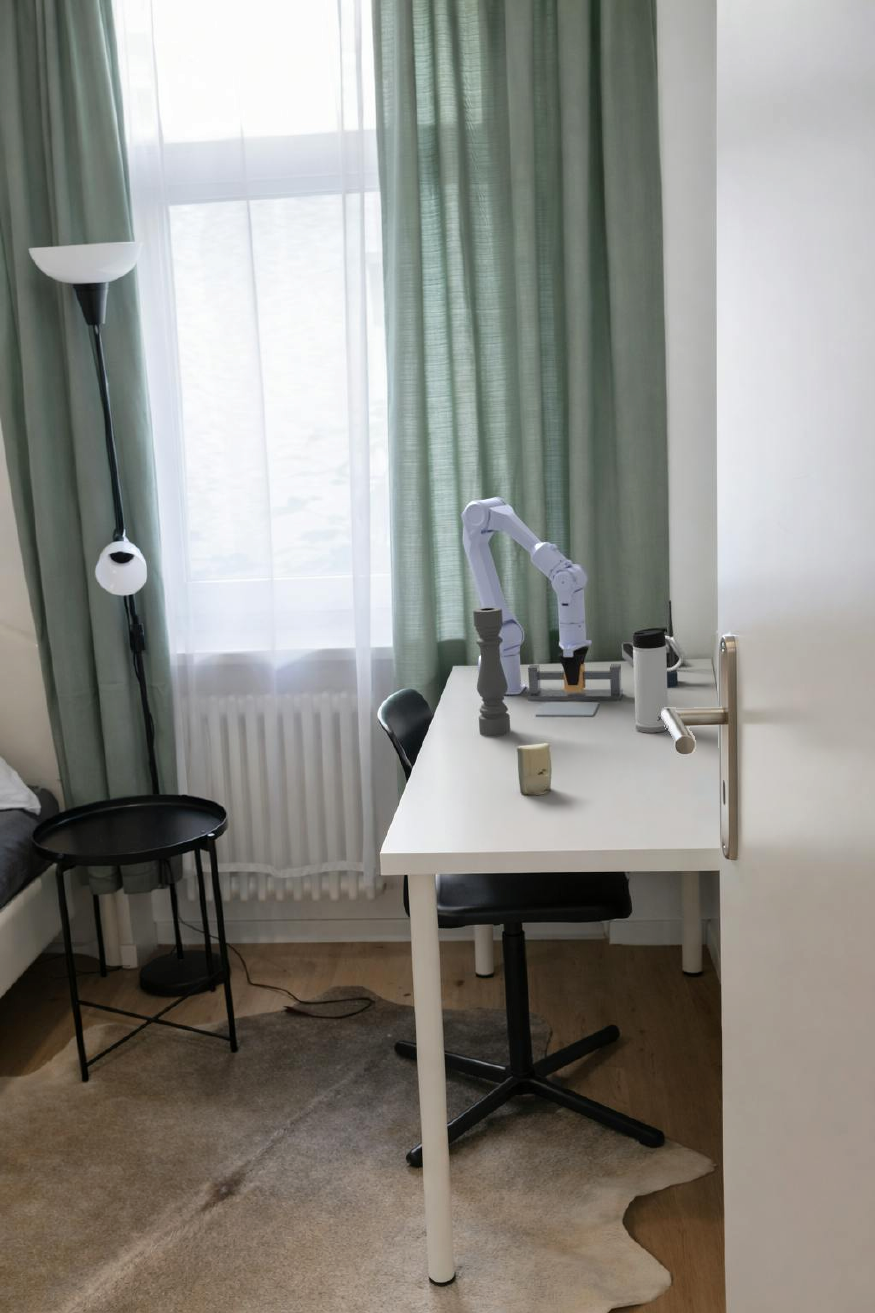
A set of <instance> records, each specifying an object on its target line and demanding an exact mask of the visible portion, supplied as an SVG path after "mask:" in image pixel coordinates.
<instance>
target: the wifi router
mask: <svg viewBox="0 0 875 1313" xmlns="http://www.w3.org/2000/svg"><path fill="white" fill-rule="evenodd" d="M672 613H673V612H672V600H670V599H669V600H668V636H669V637H671V638H672V637H674V628H673V618H672ZM633 642H634V641H626V642H621V656H622V658H623V659H624V660H625V661H626V662H627V663H628V664H629V665H630V666H631V667H632V668H633V669H634V661H633ZM679 659H680V658H679V657H678V656H677V654H676V653H675V651H674V650H673V648H672V646H671V645H670V643H669V642H666V662H667V668H671V667H673V666H675V665H676V664H677V663H678V661H679Z"/></svg>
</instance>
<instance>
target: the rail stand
mask: <svg viewBox="0 0 875 1313" xmlns="http://www.w3.org/2000/svg"><path fill="white" fill-rule="evenodd" d="M621 668H622V665H621V663H611V664H610V666H609V670H585V671H584V672H583V680H585V681H586V680H590V681H591V680H593V681H595V680H609V682H610V689H583V692H565V690H564V689H541V681H564V670H549V671H548V670H547V671H545V670H543V671H542V670H541V668H540V664H530V665H529V666H528V667H527V669H528V670H527V672H528V690H529V693H528V694H529V695H528V697H527V698H528V701H529V702H530V701H531V702H533V701H534V702H536V701H537V702H551V701H552V702H557V701H558V702H570V701H571V702H574V701H575V702H576V701H577V702H579V701H580V702H582V701H583V702H586V701H587V702H588V701H589V702H596V701H597V702H601V701H602V702H604V701H606V702H607V701H608V702H609V701H612V702H616V701H617V702H619V701H621V699H622V696H623V689H622V669H621Z"/></svg>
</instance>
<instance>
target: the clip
mask: <svg viewBox="0 0 875 1313" xmlns="http://www.w3.org/2000/svg"><path fill="white" fill-rule="evenodd" d="M585 665H586V664H585V663H584V664H581V667H580V675H579V682H578V685H568V683H567V679H566V675H565V672H564V680H563V684H564V685H563V686H564V689H563V690H565V692H583V690H584V689H585V688H586V680H583V672H584V671H586V666H585Z"/></svg>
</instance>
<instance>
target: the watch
mask: <svg viewBox="0 0 875 1313" xmlns="http://www.w3.org/2000/svg"><path fill="white" fill-rule="evenodd" d="M665 639H666V640H667V643H668V644H669V643H670V645H671V646H672V648H673V650H674V651H675V653H676V654H677V656H678V657H679V661H678V663H677V664H676V665H675V666H673V667H671V668H669V667H667V688H671V687H672V688H675V686H679V682H678V671H677V669H679V667H680V666H681V665H682V664H683V661H684V656H685V653H684V651H683V650H682V648H681V646H680V645H679V643H678V642H677V640H676V639H675V638H674V636H673V637H672V638H671V637H669V635H665Z"/></svg>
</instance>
